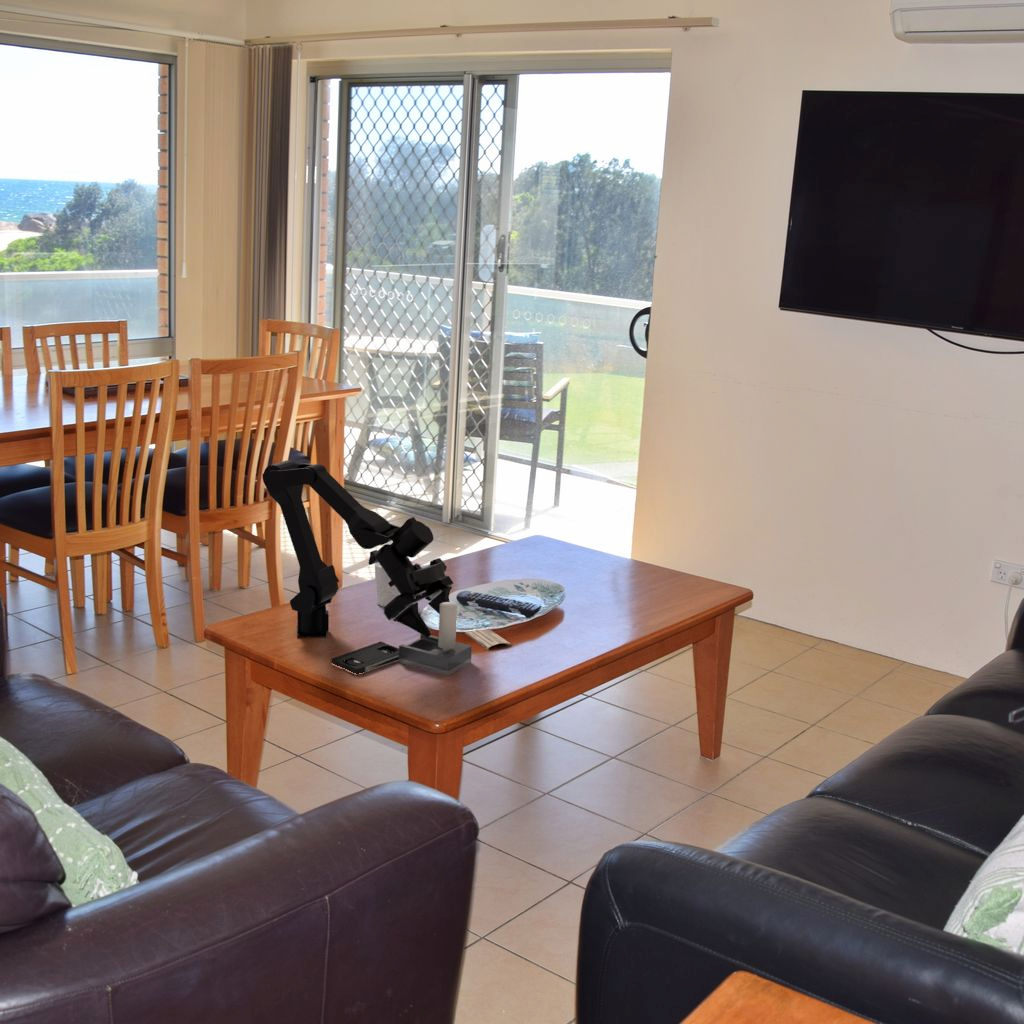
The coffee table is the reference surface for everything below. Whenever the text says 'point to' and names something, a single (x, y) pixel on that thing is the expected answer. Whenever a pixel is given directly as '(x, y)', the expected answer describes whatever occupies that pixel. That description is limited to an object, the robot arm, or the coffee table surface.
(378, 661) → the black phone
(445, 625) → the post
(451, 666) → the keyhole plate
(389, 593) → the white cup
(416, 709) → the coffee table surface
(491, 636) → the newspaper
